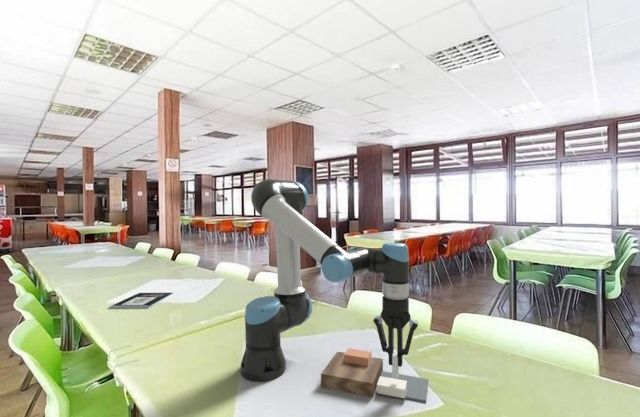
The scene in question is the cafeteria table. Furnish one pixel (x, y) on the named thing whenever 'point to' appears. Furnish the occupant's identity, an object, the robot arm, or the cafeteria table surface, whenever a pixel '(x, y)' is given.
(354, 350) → the terracotta tile
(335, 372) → the deck
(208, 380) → the cafeteria table surface
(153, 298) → the picture frame
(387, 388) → the cream tile
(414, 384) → the mat
